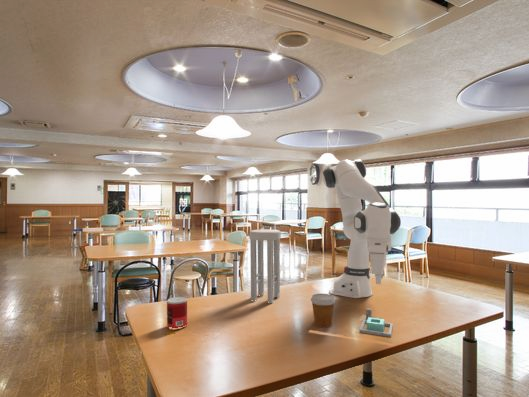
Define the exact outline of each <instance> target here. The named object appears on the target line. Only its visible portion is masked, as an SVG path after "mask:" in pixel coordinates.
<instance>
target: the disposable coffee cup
mask: <svg viewBox="0 0 529 397" xmlns="http://www.w3.org/2000/svg"><path fill="white" fill-rule="evenodd" d="M310 300H311V302H312V303H311V304H312V312H313V320H314V325H315V326H316V327H318V328H330V327H331V326H332V322H333V314H334V305H335V302H336V299H335V297H334V295H333V294H330V293H315V294H313V295H312V296H311V298H310Z"/></svg>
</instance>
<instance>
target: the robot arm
mask: <svg viewBox="0 0 529 397" xmlns="http://www.w3.org/2000/svg"><path fill="white" fill-rule="evenodd" d="M366 175H367V167H366V165H365V163H364V162H363V160H361V159H353V160H349V159H342V160H340V161H339V162H337V164H336V165H334V166H331V167H327V168H325V169H324V170H323V171H322V182H323V184H324V185H325V186H326V187H327V188H329V189H333V188H335V191H336V192H335V193H336V196H337V200H338V204H339V207H340V212H341V216H342V225H343V226H342V227H343V228H342V231H343V234H344V236H345V237H346V238H348V240H350V243H349V244H350V245H349V249H348V251H347V265H345V266H344V267H343V273H342V274H341V275H340V276H338V277H337V278H336V279H335V280H334V281H333V285H332V287H330V288H329V290H328V292H329V293H328V294H329V295H333V296H334V295H335V296H340V297H347V298H352V299H360V298H368V297H371V296H373V291H372V286H371V282H370V280H371V279H370V278H371V273H372V274H374V277H375V278H374V279H375V284H376V285H381V284H382V279H384V270H385V267H386V264H387V255H388V254H389V251H391V250H392V235H394V234H396V232H397V231H399V228H400V227H401V225H402V224H401V218H400V216H399V214H398V213H397V212H396V210H394V209H393V207H392V206H390V203H388V201H386V199H385V198H384V196H383V195H382V194H381V192H380V191H379V190H378V189H377V187H376V186H374V185H373V184H372V183H370V182H368V181H367V180H366V179H365V177H366ZM361 200H364V201H366V202H368V204H367V207H366V208H365V209H364V210H363V205H362V201H361Z"/></svg>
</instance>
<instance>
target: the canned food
mask: <svg viewBox="0 0 529 397" xmlns="http://www.w3.org/2000/svg"><path fill="white" fill-rule="evenodd" d="M166 323H167V324H166V326H168V327H172V328H178V327H183V326H185V325H187V326H188V299H187V297H185V296H174V297H170V298H168V299H167V301H166ZM168 327H167V328H168Z"/></svg>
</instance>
